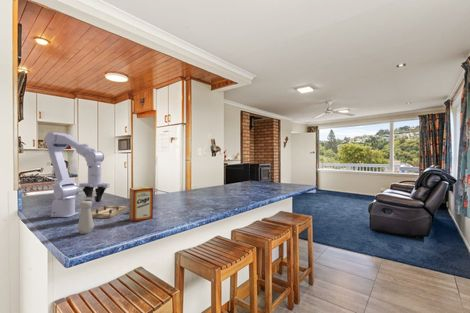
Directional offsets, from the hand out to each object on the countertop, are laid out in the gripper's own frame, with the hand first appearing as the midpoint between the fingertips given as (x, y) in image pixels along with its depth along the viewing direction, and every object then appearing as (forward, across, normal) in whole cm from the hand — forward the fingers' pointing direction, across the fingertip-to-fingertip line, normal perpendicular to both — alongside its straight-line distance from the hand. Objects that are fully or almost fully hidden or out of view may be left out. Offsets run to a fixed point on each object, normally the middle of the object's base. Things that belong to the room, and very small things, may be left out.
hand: (94, 201), depth 113 cm
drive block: (+2, 0, 0) cm, 2 cm away
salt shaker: (+9, +10, -20) cm, 24 cm away
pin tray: (+8, +2, +9) cm, 12 cm away
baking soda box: (+9, +24, +1) cm, 25 cm away
